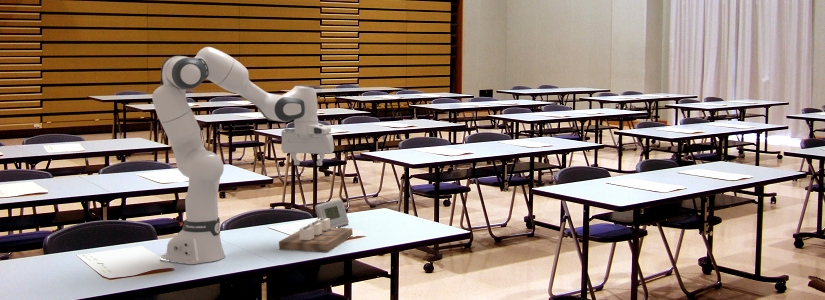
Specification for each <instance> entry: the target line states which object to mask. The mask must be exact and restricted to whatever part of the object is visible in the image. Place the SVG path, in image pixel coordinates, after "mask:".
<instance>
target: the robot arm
mask: <svg viewBox="0 0 825 300" xmlns="http://www.w3.org/2000/svg"><path fill="white" fill-rule="evenodd" d="M249 75H250V74H249V70H248V69H247V68H246V66H244V65H243V64H242V63H241V62H240V61H238V60H237V59H236V58H234V57H232V56H230V55H229V54H227V53H226V52H224V51H221V50H219V49H216V48H214V47H211V46H206V47H205V46H204V47H203V48H201V49H200V50H199V51H198V52H197V53H196V56H194V57H188V56H186V55H185V56H184V55H183V56H182V55H174V56H170V57H169V58H166V60H165V61H164V62H163V63H162V64H161V69H160V86H159V87H157V88H156V89H154V91H153V93H152V96H151V97H152V104H153V106H154V109H155V111H156V115H157V117H158V119H159V122H160V124H161V126H162V128H163V130H164V132H165V134H166V136H167V138H168V141H169V142H170V146H171V149H172V154H173V156H174V158H175V161H176V163H175V164H176V167H177V169H178V170H179V172H180V173H181V174H182V175H183V176H185V177H186V178H188V188H187V193H186V195H185V201H184V202H185V203H184V204H185V217H186V218H185V219H184V220H182V221H181V222H180V223H179V224H180V225H179V226H180V227H182V229H181V230H180V231H179V232H178V233H176V234H175V236H173V237H172V238H171V239H170V240H169V241H168V243H167V245H166V246H167V247H166V252H165V253H164V254H162V255H161V256H160V257H161V258H163V259H166V260H169V261H174V262H173V263H176V262H180V263H179V264H183V263H186V264H185V265H195V264H201V263H210V262H215V261H219V260H222V259H224V258H225V257H226V255H225V252H224V248H223V244H222V239H221V219H220V217H219V206H218V204H219V203H218V202H219V201H218V198H219V197H218V194H219V189H220V188H219V186H220V181H221V177H222V175H223V173H224V169H225V166H224V163H223V161H222V159H221V158H220V156H218V154H216V153H215V152H213V151H210V150H207V149H206V148H205V146H204V144H203V139H202V135H201V127H200V125H199V123H198V120H197V119H196V116H195V115H194V113H193V110H192V109H191V107H190V105H189V102H188V101H187V97H186V96H187V95H186V92H187V90H194V89H196V88H197V87H198V86H199V85H201V84H202V82H204V81H205V80H207V81H210V82H211V83H213V84H215V85H217V86H218V87H219V88H222V89H224V90H225V91H228V92H230V93H233V94H236V95H239V96H240V97H242V98H244V99H245V100H247V101H248V102H250V103H251V104H253V105H254V106H255V107H256V108H257V109H258V111H259V112H260V114H261V115H262V116H263V117H264V119H267V120H268V121H273V122H274V121H276V122H277V121H278V122H283V123H287V122H291V121H294V122H293V123H294V127H293V128H287V127H286V128H284V129H283V130H281V134H280V135H281V145H280V147H281V152H282V153H283V154H290V157H291V159H292V161H293V165H294V166H300V163H301V162H300V159H298V158H297V154H311V155H313V154H314V155H315V154H317V155H318V157H319V159H318V160H317V161H316V166H318V167H319V166H320V167H321V166H323V160H324V159H325V155H328V154H332V153H334V151H335V143H334V142H335V141H334V138H333V135H332V134H331V131H332V128H331V127H330V126H327V125H325V124H322V123H321V122H319V118H318V110H319V107H318V106H319V105H318V97H317V91H316V89H315V88H314V87H312V86H310V85H302V84H296V85H294V87H293V88H292V89H291V90H289V91H288V92H285V93H283V94H276V93H269V92H267V91H266V90H264V89H262V88H261V87H259V86H258V85H256V84H255V83H253V82H252V81H251V80H250V76H249ZM169 261H168V262H169Z"/></svg>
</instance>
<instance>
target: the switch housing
mask: <svg viewBox="0 0 825 300" xmlns="http://www.w3.org/2000/svg"><path fill="white" fill-rule="evenodd" d="M351 235H353V227H352V228H351V227H350V228H349V227H339V228H332V227H330V229H329V230H327V231H322V234H320V235H314V238H313V239H311V240H300V232H299V230H297V231H296V232H294V233H292V234H290V235H289V236H287V237H284V238H283V239H281V240H279V241H278V249H279V250H283V251H297V252H298V251H299V252H314V253H315V252H317V253H328V252H330V251H332V250H333V249H334V248H336V247H338V246H339V245H341V244H342V243H344V242H346V241H347V240H349V239H348V237H350V236H351ZM353 236H354V235H353ZM350 238H351V237H350Z"/></svg>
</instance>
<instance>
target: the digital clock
mask: <svg viewBox="0 0 825 300" xmlns="http://www.w3.org/2000/svg"><path fill="white" fill-rule="evenodd" d="M314 209H315V213H316V216H317V220H318V219H319V218H323V217H326V218H330V227H332V228H336V227H339V228H341V227H340V226H342V227H344V226H347V225H348V224H349V222H350V221H349V218H348V214H347V212H346V208H345V204H344V201H343V200H342V199H341V198H339V199H334V200H330V201H326V202H321V203H319V204H316V205H315V207H314Z"/></svg>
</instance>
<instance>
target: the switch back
mask: <svg viewBox="0 0 825 300" xmlns="http://www.w3.org/2000/svg"><path fill="white" fill-rule="evenodd" d="M315 221H318V223H322V231H327V230H329V229H330V218H326V217H323V218H319V219H318V218H317V219H316V220H315Z"/></svg>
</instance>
